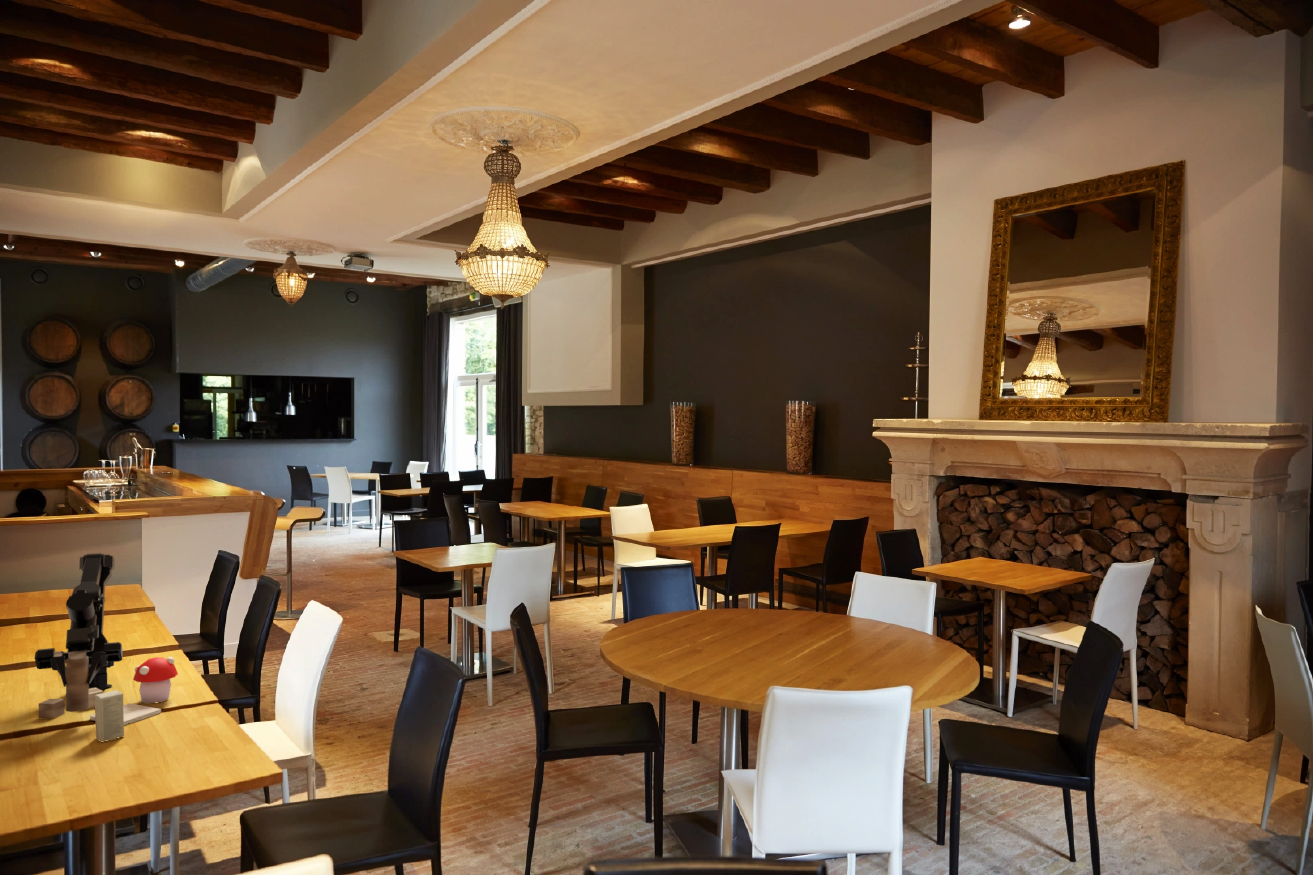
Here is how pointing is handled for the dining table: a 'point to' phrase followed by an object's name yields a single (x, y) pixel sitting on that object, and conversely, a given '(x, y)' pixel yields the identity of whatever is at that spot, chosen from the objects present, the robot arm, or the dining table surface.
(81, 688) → the pepper mill
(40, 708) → the walnut block
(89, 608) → the robot arm
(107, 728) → the box
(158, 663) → the mushroom
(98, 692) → the oak block
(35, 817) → the dining table surface
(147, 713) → the plate
